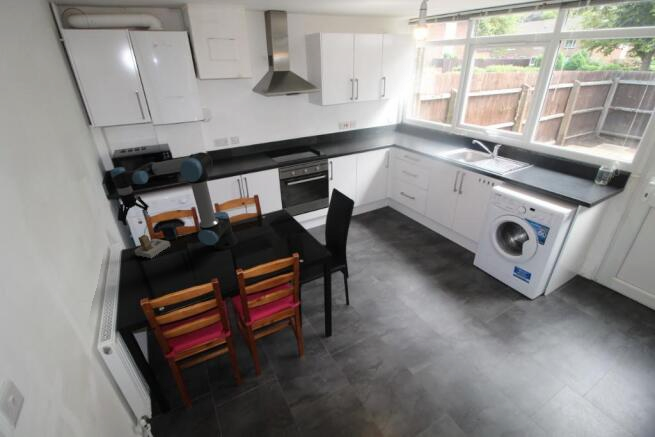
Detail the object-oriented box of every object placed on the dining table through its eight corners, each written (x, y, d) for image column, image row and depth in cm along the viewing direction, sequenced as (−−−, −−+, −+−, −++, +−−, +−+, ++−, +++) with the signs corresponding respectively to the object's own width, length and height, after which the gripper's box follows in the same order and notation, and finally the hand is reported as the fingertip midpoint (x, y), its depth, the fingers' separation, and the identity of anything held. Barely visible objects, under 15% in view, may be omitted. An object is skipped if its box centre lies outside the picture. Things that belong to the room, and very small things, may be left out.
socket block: (170, 246, 220) (168, 241, 218) (151, 259, 207) (149, 253, 205) (155, 243, 225) (153, 238, 223) (136, 255, 212) (134, 250, 210)
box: (178, 235, 233) (174, 222, 228) (176, 239, 228) (172, 226, 223) (167, 236, 232) (163, 224, 227) (165, 240, 227) (160, 227, 222)
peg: (153, 251, 213) (147, 235, 208) (148, 254, 210) (142, 238, 205) (149, 250, 215) (143, 234, 209) (144, 253, 212) (138, 237, 206)
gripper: (139, 185, 204) (150, 214, 214) (102, 200, 184) (116, 232, 194) (147, 186, 201) (158, 215, 211) (111, 202, 181) (124, 234, 191)
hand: (138, 224), depth 203 cm, fingers open, 13 cm apart
